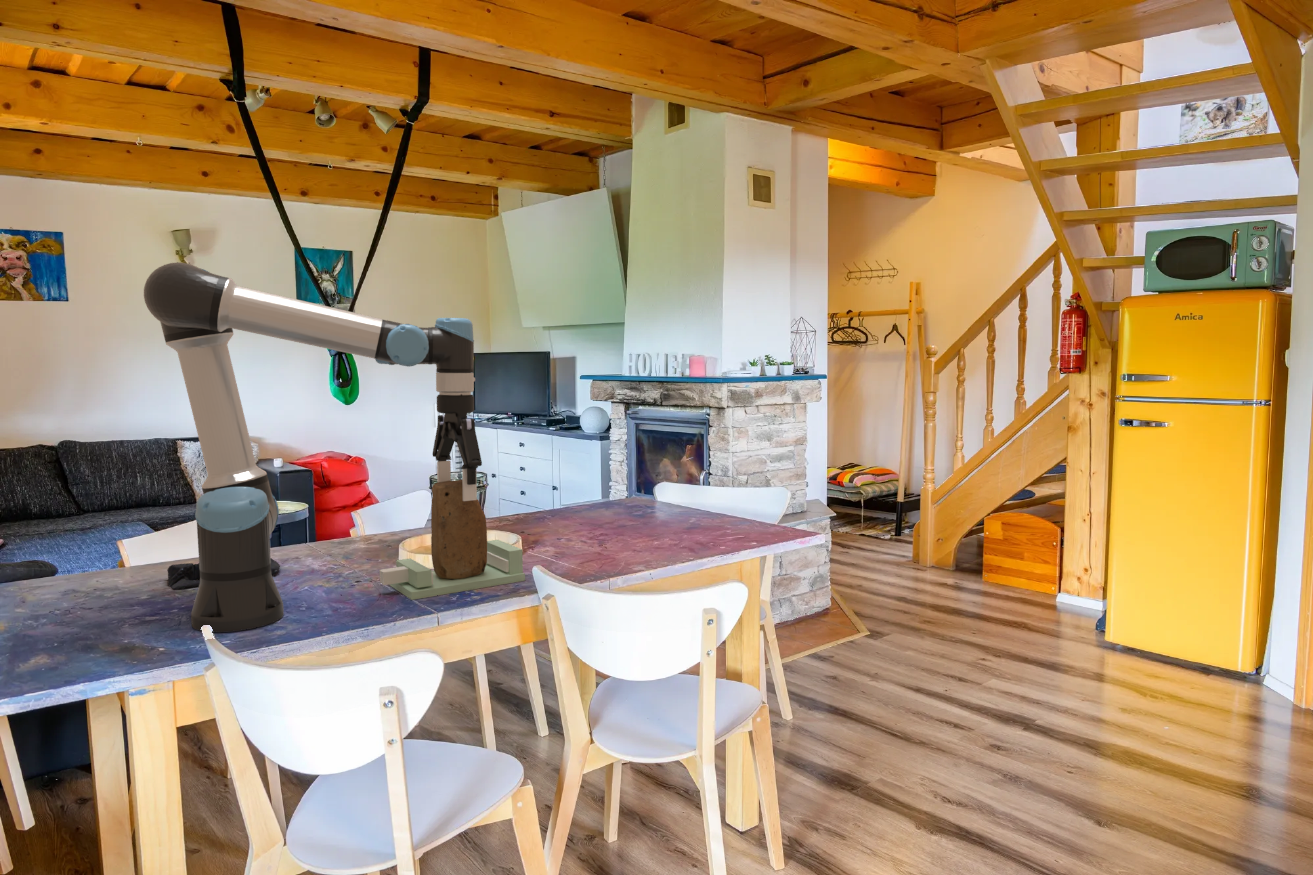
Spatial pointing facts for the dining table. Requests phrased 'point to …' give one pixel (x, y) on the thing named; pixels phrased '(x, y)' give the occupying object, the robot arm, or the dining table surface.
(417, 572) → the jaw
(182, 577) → the dark slate chunk
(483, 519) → the block
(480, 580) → the vise
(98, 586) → the dining table surface
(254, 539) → the robot arm
